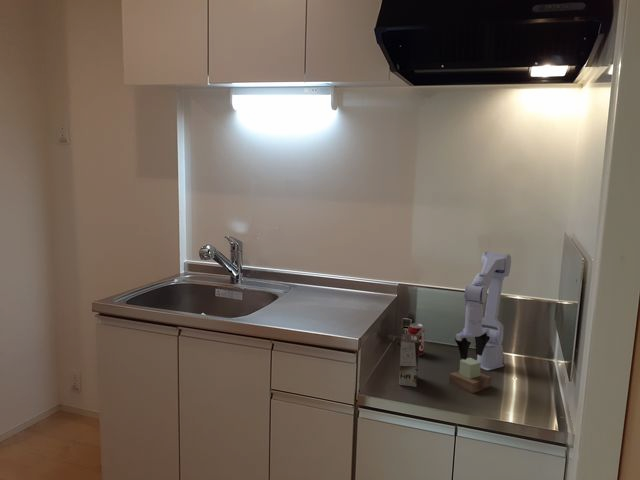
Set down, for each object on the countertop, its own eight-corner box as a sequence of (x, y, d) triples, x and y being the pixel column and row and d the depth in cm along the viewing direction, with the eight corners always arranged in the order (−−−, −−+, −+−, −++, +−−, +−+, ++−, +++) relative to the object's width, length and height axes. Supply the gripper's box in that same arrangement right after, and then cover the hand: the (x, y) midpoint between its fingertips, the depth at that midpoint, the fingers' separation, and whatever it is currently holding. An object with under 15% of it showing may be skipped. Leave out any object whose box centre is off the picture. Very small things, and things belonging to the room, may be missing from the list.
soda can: (406, 356, 212) (408, 327, 211) (406, 350, 219) (408, 322, 217) (423, 357, 211) (425, 328, 209) (423, 351, 218) (424, 323, 216)
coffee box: (417, 387, 184) (419, 342, 181) (398, 385, 185) (400, 341, 183) (417, 376, 193) (419, 334, 190) (399, 374, 194) (401, 332, 191)
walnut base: (466, 377, 194) (467, 367, 193) (490, 387, 186) (490, 376, 185) (449, 384, 188) (449, 373, 187) (472, 394, 180) (472, 383, 179)
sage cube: (469, 370, 190) (470, 357, 189) (479, 375, 186) (480, 362, 185) (459, 373, 187) (460, 360, 187) (469, 378, 183) (470, 365, 182)
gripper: (479, 313, 190) (476, 349, 192) (450, 319, 183) (447, 356, 185) (495, 318, 184) (492, 355, 186) (465, 325, 177) (463, 363, 179)
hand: (471, 356), depth 185 cm, fingers open, 7 cm apart
